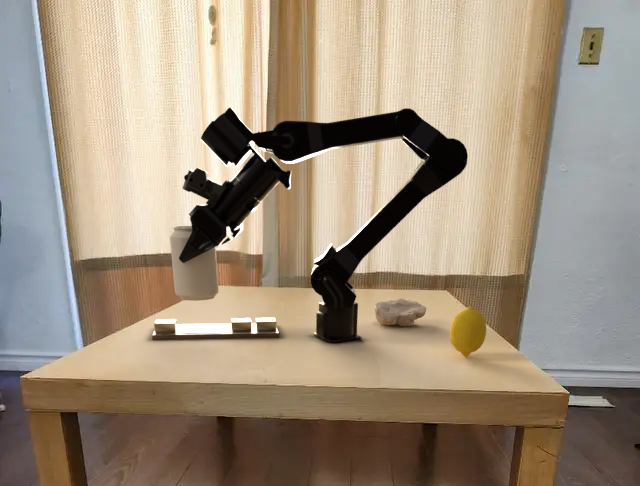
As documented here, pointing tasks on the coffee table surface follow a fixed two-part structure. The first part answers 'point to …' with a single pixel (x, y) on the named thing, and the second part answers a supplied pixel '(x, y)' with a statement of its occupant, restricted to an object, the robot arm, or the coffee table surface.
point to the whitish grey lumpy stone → (399, 312)
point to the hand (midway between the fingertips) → (186, 258)
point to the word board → (215, 329)
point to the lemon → (468, 331)
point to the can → (193, 269)
